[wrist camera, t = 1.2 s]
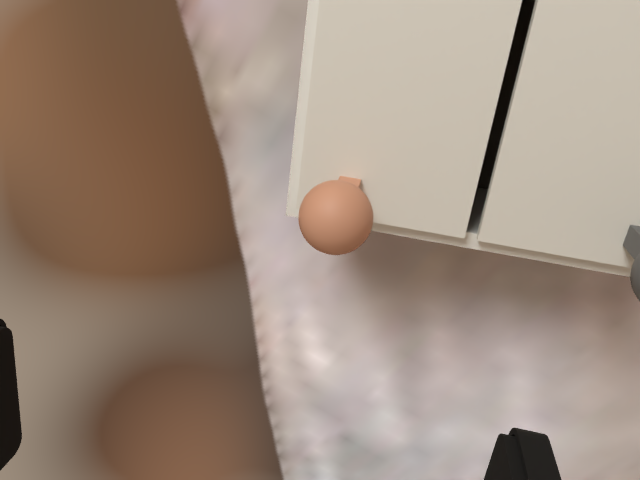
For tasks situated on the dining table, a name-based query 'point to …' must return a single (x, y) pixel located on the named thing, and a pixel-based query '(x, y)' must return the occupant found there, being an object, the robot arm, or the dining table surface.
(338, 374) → the dining table surface
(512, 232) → the flap
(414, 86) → the flap
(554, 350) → the dining table surface
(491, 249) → the carton
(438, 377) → the dining table surface
